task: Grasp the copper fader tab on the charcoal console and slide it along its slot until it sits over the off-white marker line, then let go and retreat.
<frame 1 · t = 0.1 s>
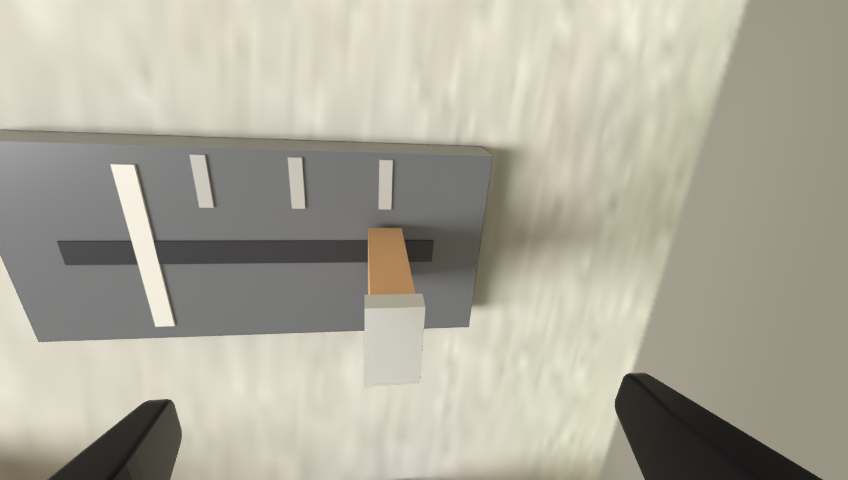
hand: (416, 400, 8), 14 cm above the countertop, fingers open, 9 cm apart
fader tab: (388, 293, 17), point 6 cm above the countertop, slide at -6.0 cm
console: (268, 233, 21), on the countertop
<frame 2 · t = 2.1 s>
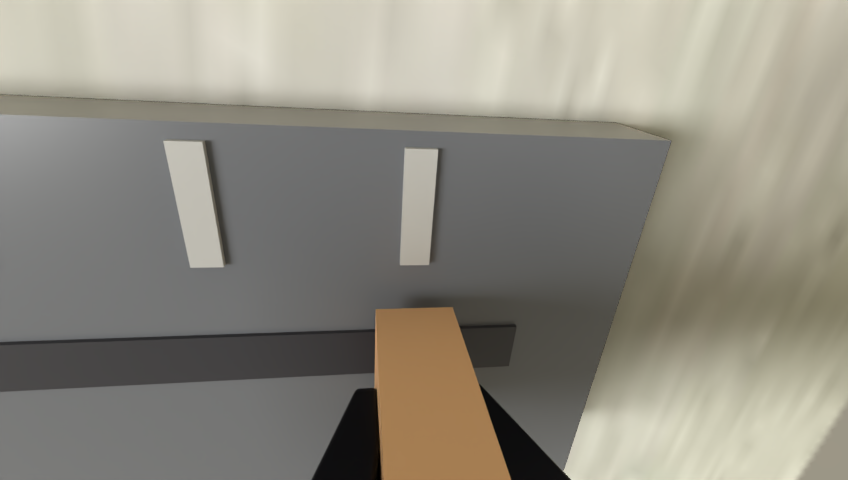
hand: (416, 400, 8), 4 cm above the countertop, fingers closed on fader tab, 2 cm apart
console: (166, 305, 10), on the countertop
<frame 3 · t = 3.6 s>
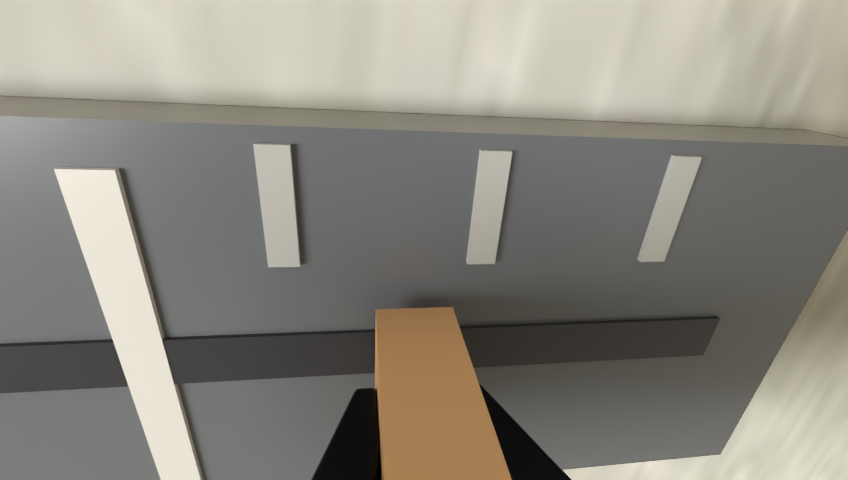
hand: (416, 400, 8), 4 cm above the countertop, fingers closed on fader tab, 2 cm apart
console: (380, 300, 11), on the countertop
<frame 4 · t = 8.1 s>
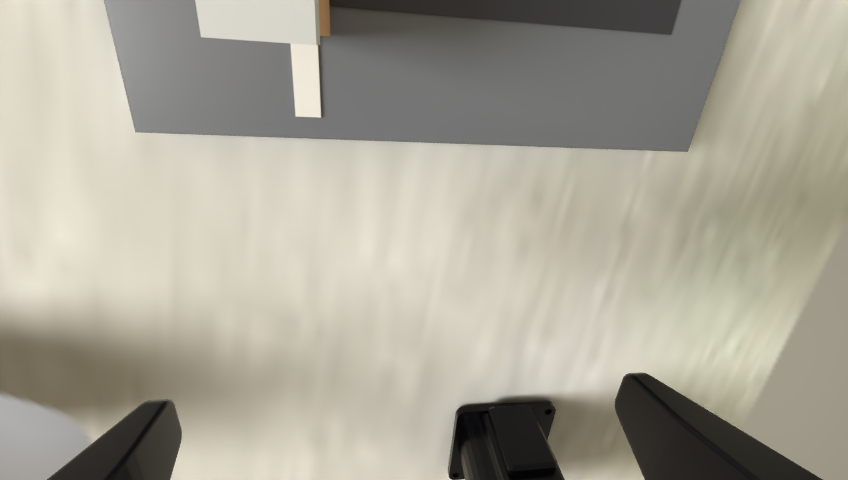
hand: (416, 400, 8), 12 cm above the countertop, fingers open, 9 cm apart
console: (441, 1, 16), on the countertop
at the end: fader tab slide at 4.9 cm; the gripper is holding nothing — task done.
